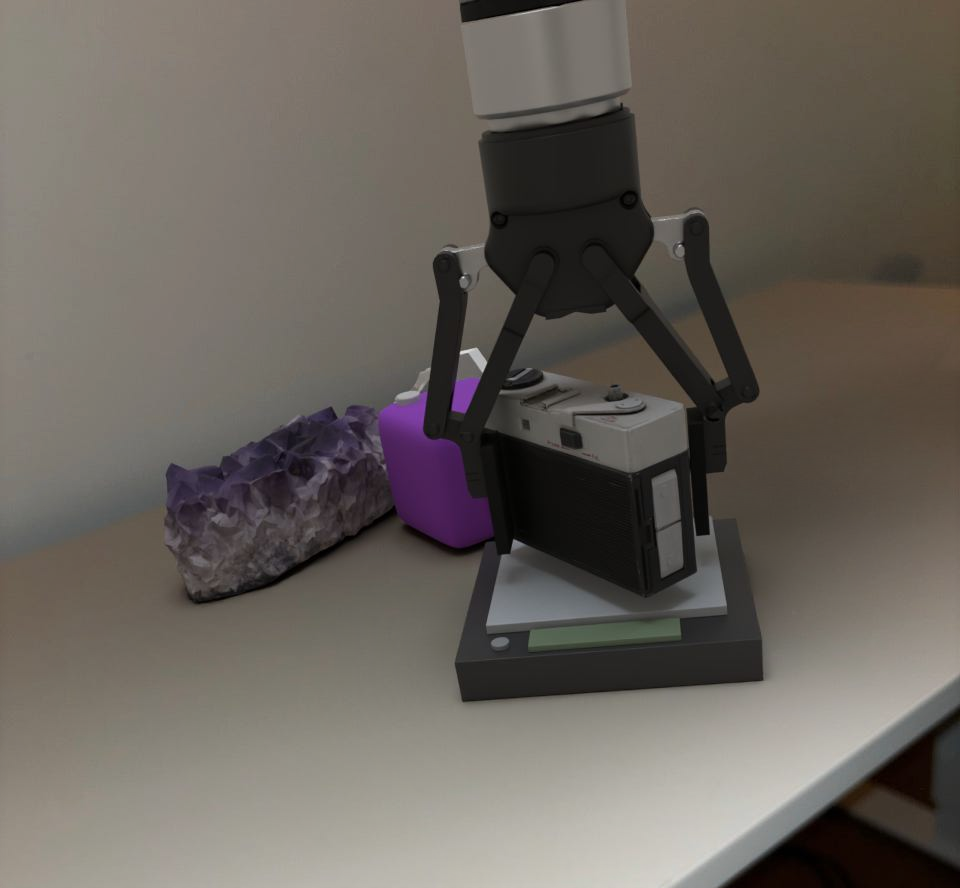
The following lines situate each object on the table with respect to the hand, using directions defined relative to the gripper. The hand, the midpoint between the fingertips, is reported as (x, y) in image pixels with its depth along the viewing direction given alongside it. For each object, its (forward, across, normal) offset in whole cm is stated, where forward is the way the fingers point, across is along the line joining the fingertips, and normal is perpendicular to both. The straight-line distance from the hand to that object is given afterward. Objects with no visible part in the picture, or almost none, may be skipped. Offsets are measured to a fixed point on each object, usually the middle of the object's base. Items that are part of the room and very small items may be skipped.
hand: (602, 535), depth 61 cm
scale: (+5, 0, +1) cm, 5 cm away
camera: (+1, -1, 0) cm, 1 cm away
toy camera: (+5, +9, -17) cm, 20 cm away
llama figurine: (+5, +11, -35) cm, 37 cm away
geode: (+5, +24, -15) cm, 29 cm away
